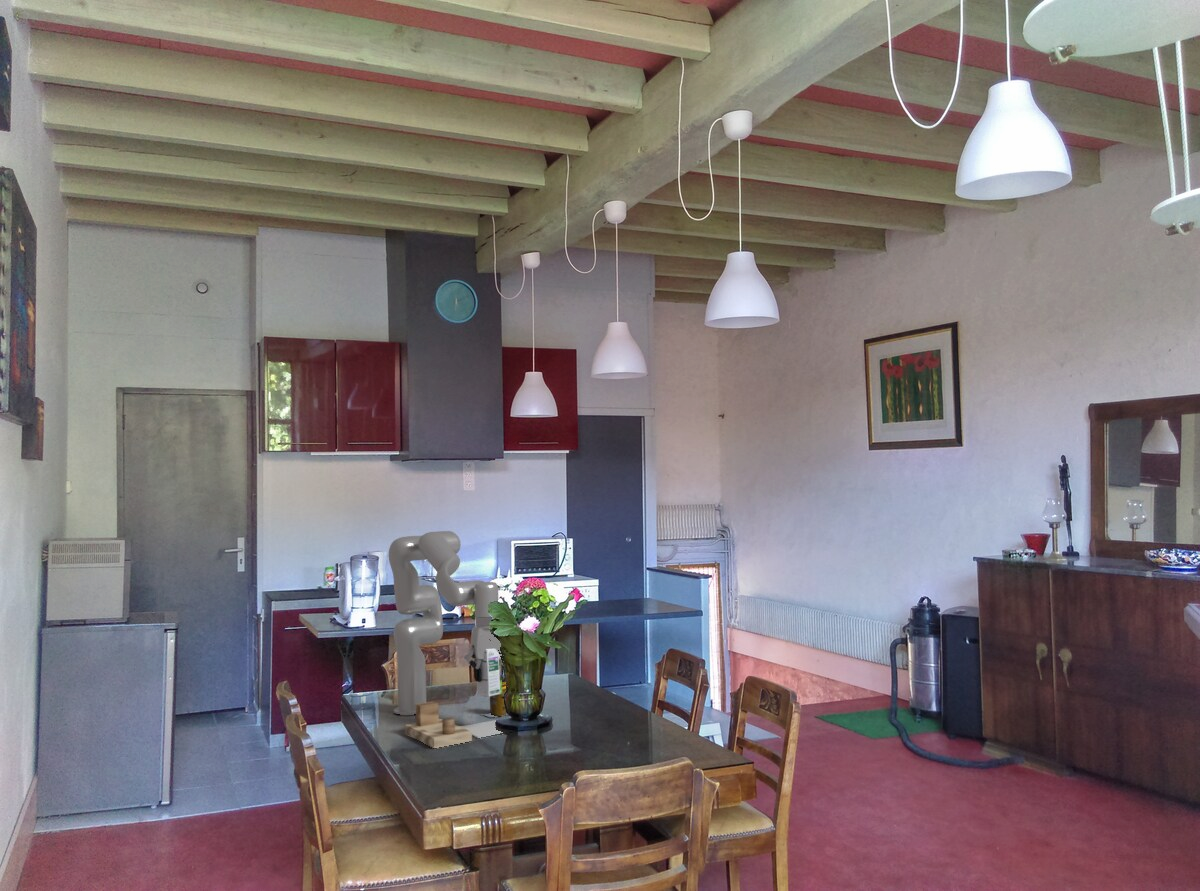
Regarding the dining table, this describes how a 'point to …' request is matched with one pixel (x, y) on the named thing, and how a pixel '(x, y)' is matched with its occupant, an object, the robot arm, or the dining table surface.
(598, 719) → the dining table surface
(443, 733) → the wooden frame with peg
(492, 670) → the syrup box
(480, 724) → the grey mat
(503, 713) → the condiment
